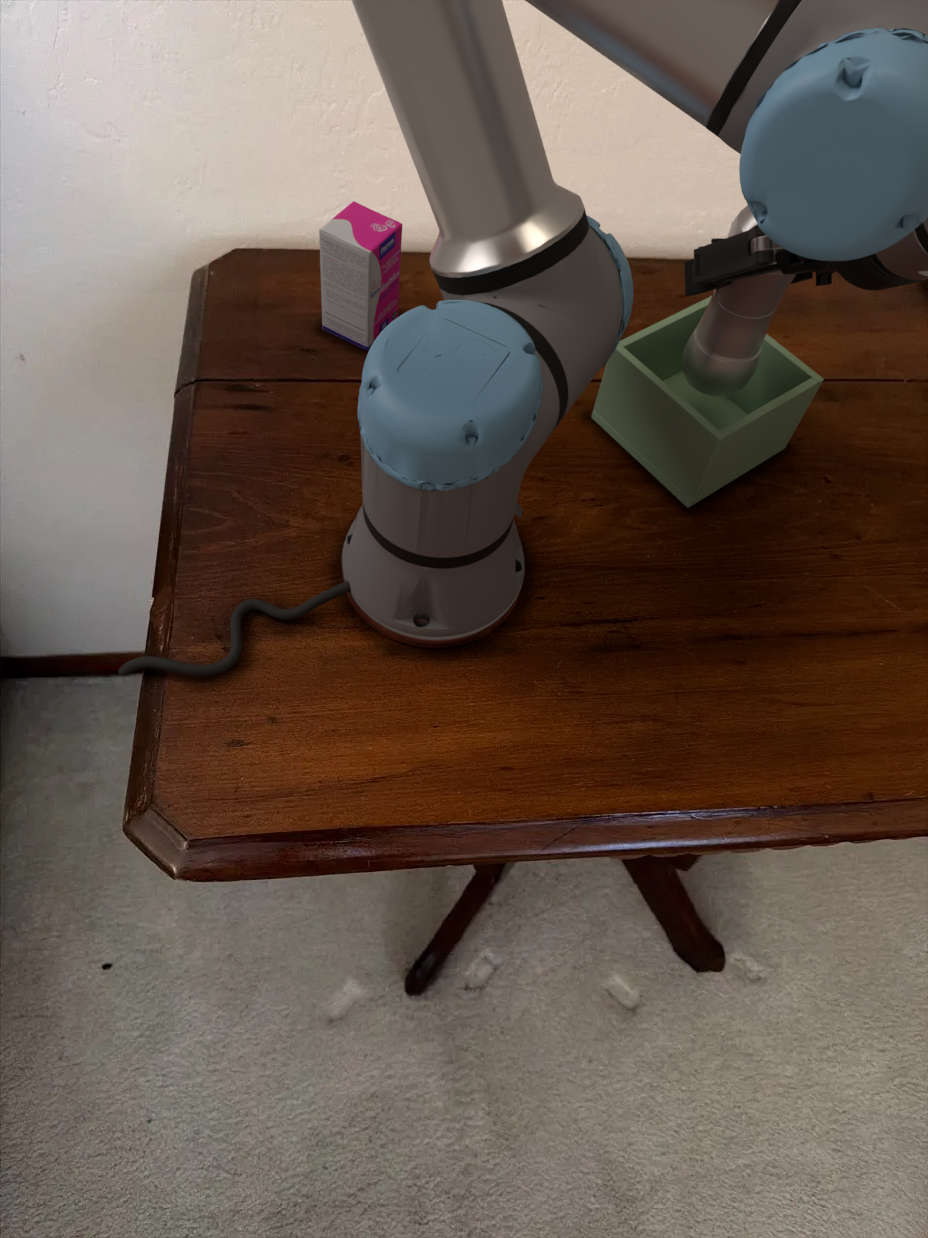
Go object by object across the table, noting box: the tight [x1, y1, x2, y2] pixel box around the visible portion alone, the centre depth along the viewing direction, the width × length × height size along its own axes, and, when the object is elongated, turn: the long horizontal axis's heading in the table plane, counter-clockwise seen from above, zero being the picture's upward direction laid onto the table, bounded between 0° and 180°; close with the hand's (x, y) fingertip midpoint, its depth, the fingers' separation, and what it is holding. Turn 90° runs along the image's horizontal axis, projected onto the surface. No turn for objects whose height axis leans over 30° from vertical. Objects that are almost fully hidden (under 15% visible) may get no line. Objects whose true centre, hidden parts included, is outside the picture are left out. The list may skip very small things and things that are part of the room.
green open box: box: [590, 295, 825, 508], centre depth 82 cm, size 14×14×9 cm
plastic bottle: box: [682, 204, 804, 396], centre depth 72 cm, size 6×7×20 cm
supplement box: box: [318, 201, 403, 351], centre depth 85 cm, size 6×6×12 cm
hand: (727, 276), depth 75 cm, fingers closed on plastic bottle, 6 cm apart
